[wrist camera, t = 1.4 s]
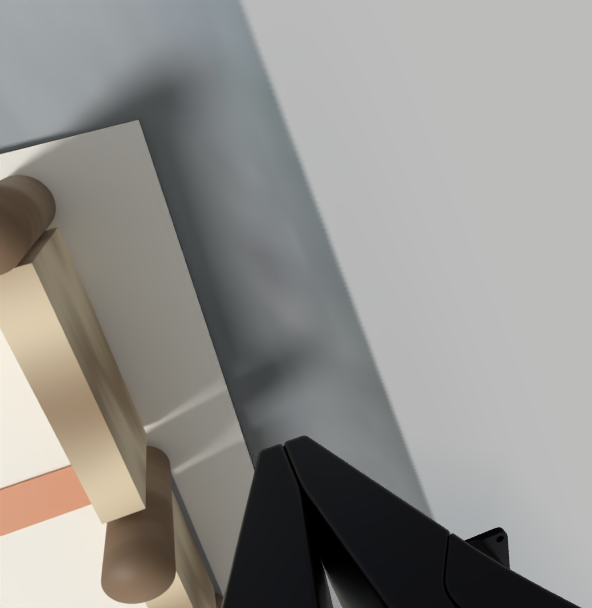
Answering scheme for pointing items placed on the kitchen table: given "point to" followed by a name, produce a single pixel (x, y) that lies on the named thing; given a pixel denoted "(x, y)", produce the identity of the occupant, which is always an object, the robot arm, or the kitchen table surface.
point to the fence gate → (84, 394)
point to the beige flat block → (187, 573)
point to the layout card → (134, 370)
